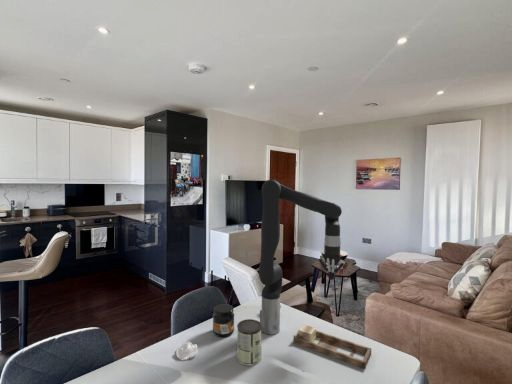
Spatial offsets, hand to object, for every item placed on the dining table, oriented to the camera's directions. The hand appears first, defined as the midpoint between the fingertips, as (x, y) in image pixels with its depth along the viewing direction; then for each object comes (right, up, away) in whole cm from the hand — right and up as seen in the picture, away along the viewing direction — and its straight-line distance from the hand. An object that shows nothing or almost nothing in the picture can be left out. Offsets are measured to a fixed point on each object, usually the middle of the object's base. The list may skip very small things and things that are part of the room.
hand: (331, 279), depth 134 cm
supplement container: (-53, -27, +2) cm, 59 cm away
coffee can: (-40, -28, -18) cm, 52 cm away
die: (-27, -26, +22) cm, 44 cm away
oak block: (-13, -26, -7) cm, 30 cm away
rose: (-67, -28, -16) cm, 74 cm away
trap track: (-4, -28, -13) cm, 31 cm away
